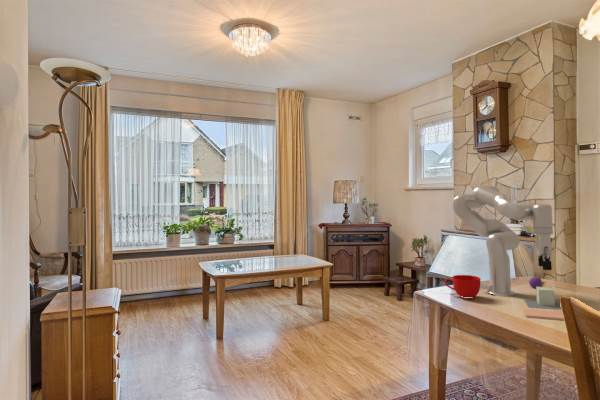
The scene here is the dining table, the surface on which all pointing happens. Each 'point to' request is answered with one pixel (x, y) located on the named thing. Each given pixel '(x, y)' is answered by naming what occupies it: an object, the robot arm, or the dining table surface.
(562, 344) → the dining table surface
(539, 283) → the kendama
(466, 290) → the ceramic cup
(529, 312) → the set down board
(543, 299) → the block
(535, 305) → the mat
